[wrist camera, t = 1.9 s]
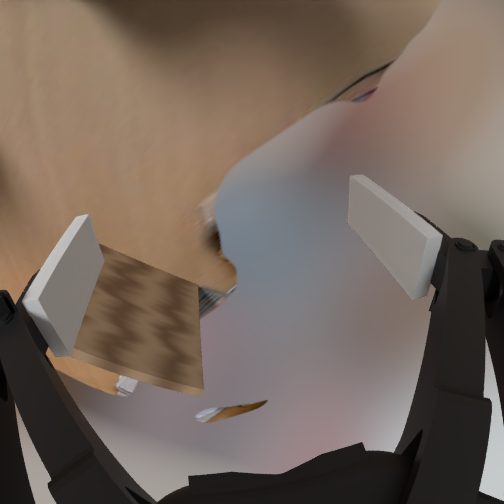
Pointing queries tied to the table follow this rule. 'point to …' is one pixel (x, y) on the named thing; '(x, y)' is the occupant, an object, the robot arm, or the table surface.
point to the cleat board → (143, 325)
